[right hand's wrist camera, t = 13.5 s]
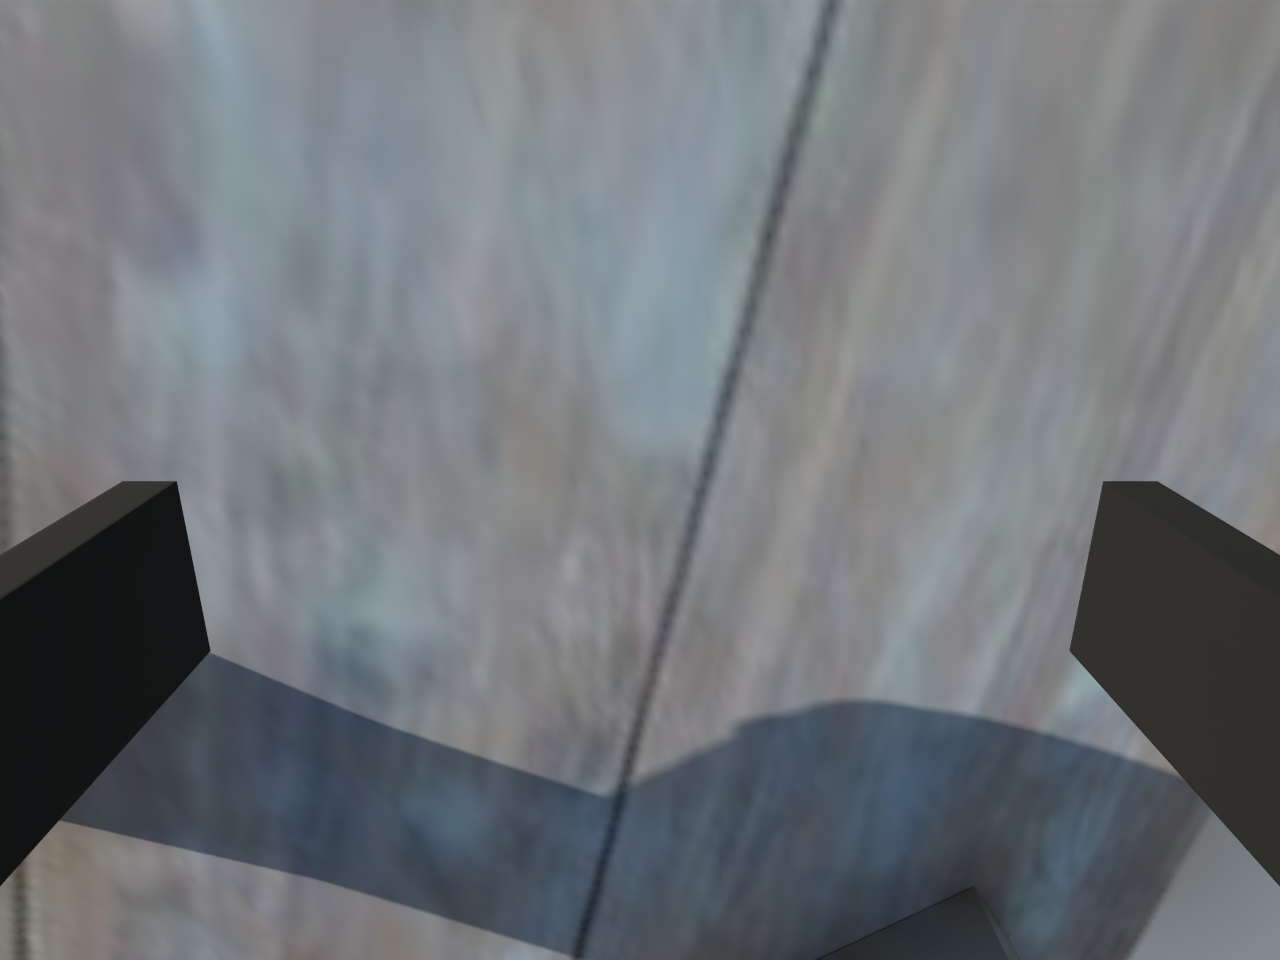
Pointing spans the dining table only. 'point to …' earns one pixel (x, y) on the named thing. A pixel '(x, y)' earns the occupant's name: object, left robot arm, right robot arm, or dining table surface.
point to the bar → (937, 935)
